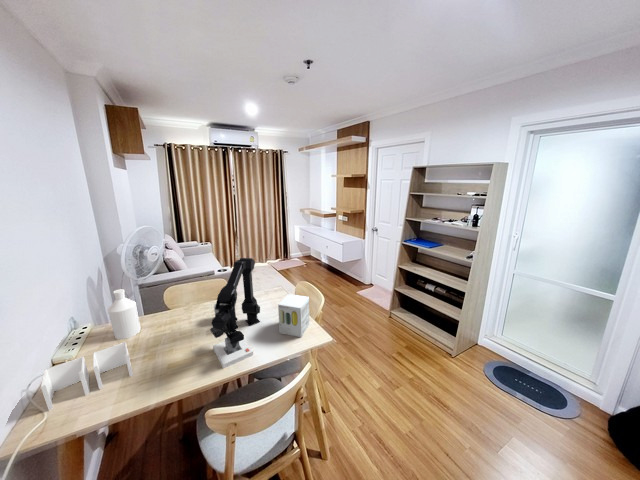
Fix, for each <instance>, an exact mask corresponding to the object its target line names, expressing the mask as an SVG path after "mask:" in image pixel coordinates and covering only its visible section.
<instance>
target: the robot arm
mask: <svg viewBox="0 0 640 480" xmlns="http://www.w3.org/2000/svg"><path fill="white" fill-rule="evenodd" d="M255 265H256V262H255V259H253V258H252V257H240V258H239V259H238V260H237V259H236V260H235V261H234V262H233V268H232V270H231V273H230V275H229V277H228V280H227V282H226V285H224V286H223V287H222V288H221V290H220V291H219V293H218V294H217V298H216V302H215V304H216V307H215V310H219V312H218V313H216V314H215V313H214V317H213V318H212V319H211V325H212V327H211V328H210V333H212V335H213V336H214V339H218V338H220V337H222V336H223V335H224V334H226V338H227V337H228V338H227V340H228V341H229V342H230V344H232V347H233V348H235V347H236V345H237V342H239V341H242V340H245V335H244V333H243V332H242V331H240V330H237V329H239V325H238V324H237V321H238V317H237V314H236V304H237V301H238V291H237V290H238V289H237V288H238V286H239V282H240V279H241V277H242V281H243V283H242V284H243V285H242V286H243V293H244V298H243V299H244V300H243V301H242V303H241V311H242V313H243V314H246V319H245V322H246V324H247V325H248V327H249V326H253V325H255V324H258V323H260V322H261V320H259V318H258V314H260V313H261V306H260V305H259V304H258V301H257V299H256V298H255V296H254V287H253V285H254V284H253V271H254V269H255ZM220 304H225V305H220Z"/></svg>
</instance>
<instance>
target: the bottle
mask: <svg viewBox="0 0 640 480" xmlns="http://www.w3.org/2000/svg"><path fill="white" fill-rule="evenodd" d="M125 292H126V291H125V289H124V288H120V289H115V290H113V293H112V294H113V295H114V298H115V300H114V301H113V302H112V304H111V305H110V306H109V307H108V309H107V312H108V315H109V320H110V325H111V328H112V331H113V335H114V338H115V339H116V338H117V339H116V340H119V339H122V340H127V339H130V338H133V337H134V335H135V336H136V334H137V333H138V334H140V332H141V331H140V330H142V328H141V322H140V318H139V317H140V316H139V313H138V307H137V302H136V301H135V300H132V299H130V298H127V297H125V296H126V295H125ZM138 334H137V335H138ZM132 336H133V337H132ZM129 337H130V338H129ZM126 338H127V339H126Z"/></svg>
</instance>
